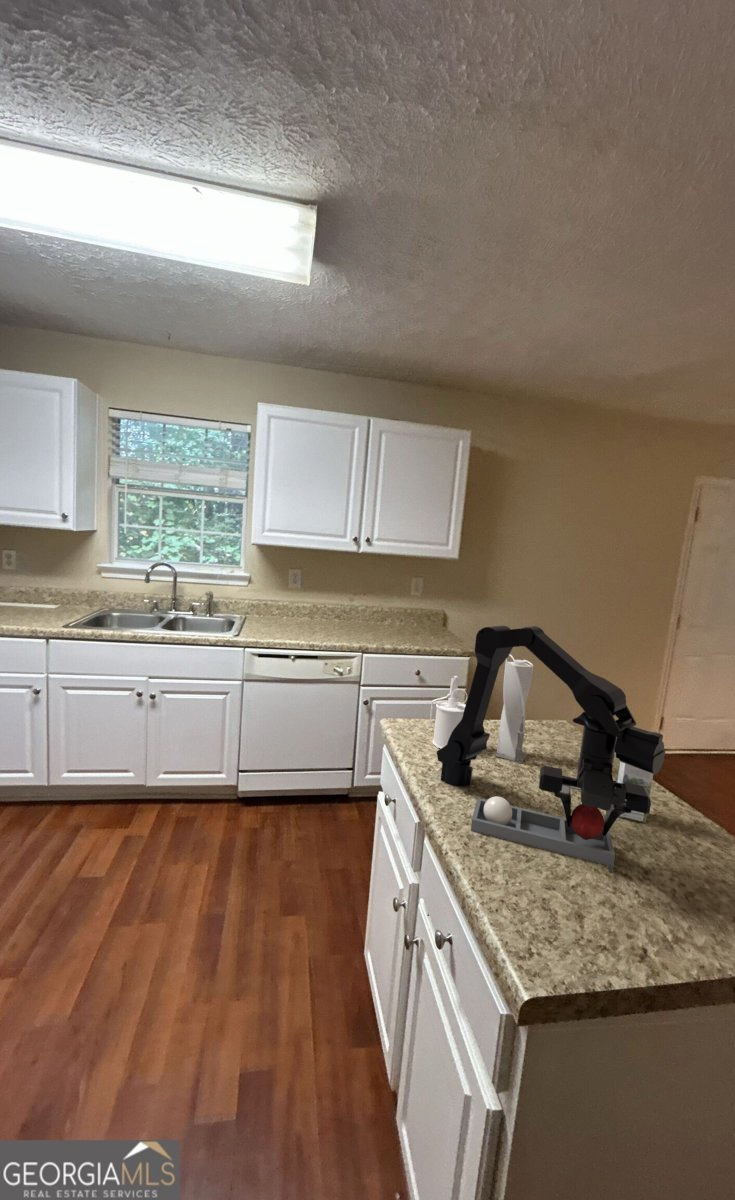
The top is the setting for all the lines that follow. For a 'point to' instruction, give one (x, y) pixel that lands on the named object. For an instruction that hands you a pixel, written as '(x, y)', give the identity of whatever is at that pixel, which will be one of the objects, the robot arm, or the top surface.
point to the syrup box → (638, 778)
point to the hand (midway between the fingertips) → (586, 830)
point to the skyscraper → (514, 710)
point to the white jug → (447, 715)
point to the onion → (587, 821)
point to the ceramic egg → (498, 810)
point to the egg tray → (545, 834)
